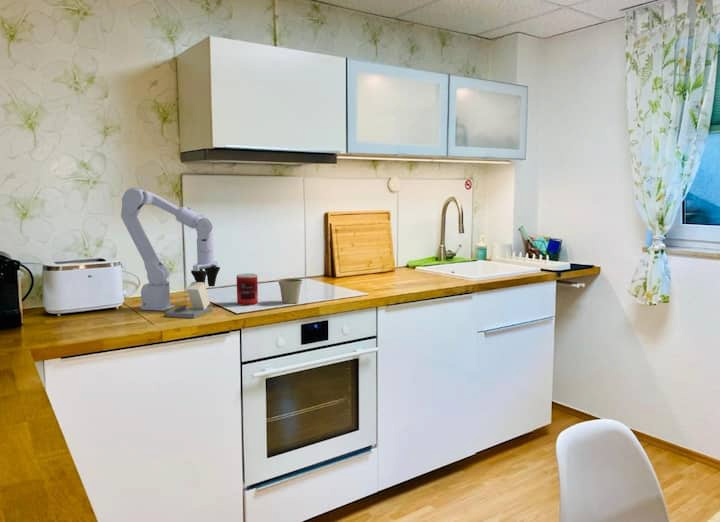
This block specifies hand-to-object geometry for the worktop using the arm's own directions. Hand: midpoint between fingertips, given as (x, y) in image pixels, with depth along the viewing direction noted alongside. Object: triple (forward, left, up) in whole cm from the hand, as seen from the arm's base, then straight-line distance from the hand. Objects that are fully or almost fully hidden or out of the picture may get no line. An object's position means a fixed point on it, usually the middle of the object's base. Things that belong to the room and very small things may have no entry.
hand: (206, 287), depth 205 cm
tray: (0, -12, -7) cm, 14 cm away
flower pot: (+27, +15, -7) cm, 32 cm away
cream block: (0, -4, -6) cm, 7 cm away
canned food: (+12, +9, -7) cm, 17 cm away
